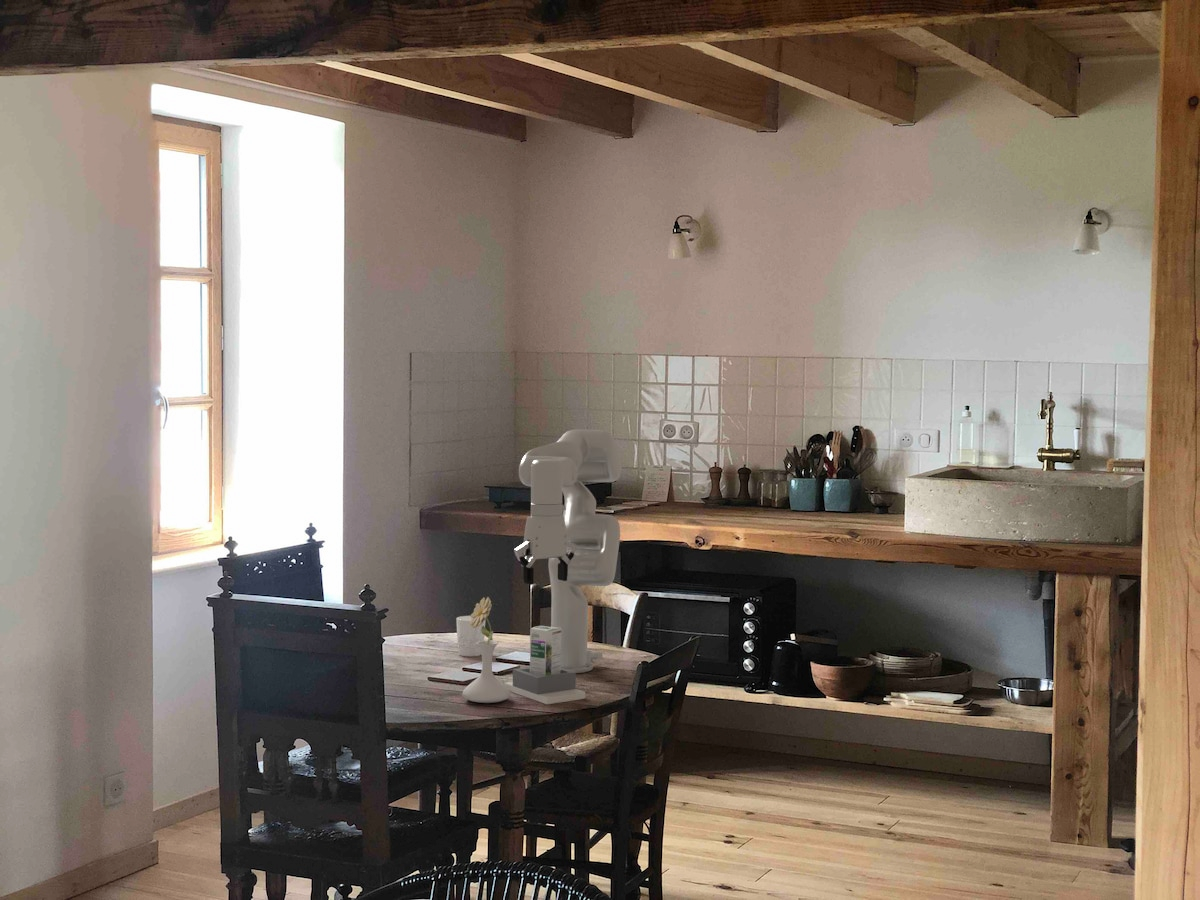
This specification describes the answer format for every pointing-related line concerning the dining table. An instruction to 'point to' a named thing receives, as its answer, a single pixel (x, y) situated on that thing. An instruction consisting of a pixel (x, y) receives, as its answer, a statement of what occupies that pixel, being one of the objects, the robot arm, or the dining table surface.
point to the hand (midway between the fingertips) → (545, 581)
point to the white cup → (468, 637)
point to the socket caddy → (545, 686)
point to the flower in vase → (485, 663)
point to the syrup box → (545, 650)
